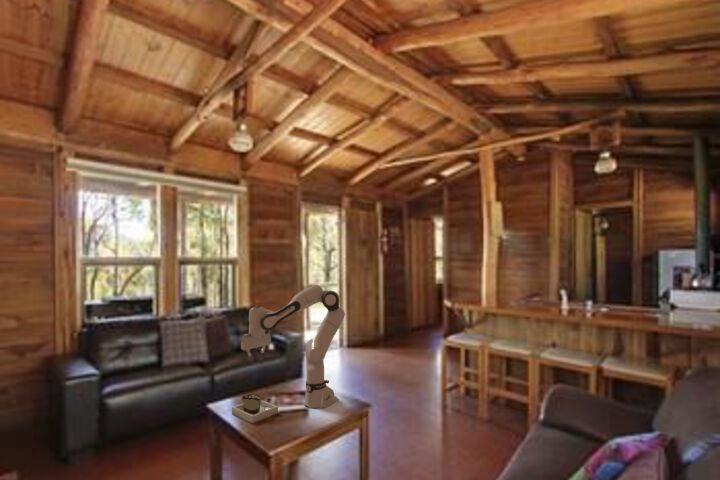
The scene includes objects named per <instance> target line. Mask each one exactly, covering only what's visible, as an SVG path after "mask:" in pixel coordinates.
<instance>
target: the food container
mask: <svg viewBox="0 0 720 480" xmlns="http://www.w3.org/2000/svg"><path fill="white" fill-rule="evenodd" d="M241 400H242V404H243V410H244V412H247V413H249V414H253V415H255V414H257V413H259V412H260V402H261V401H262V395H260V394H259V393H247V394H244V395H242V396H241Z"/></svg>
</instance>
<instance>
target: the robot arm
mask: <svg viewBox="0 0 720 480" xmlns="http://www.w3.org/2000/svg"><path fill="white" fill-rule="evenodd" d="M317 303H320V304H321V303H322V305H323V306H324V308H325V309H326V310H327V313H326V315H325V316H324V317H323V320H322V322H321V323H320V325H319V326H318V328H317V330H316V332H315V335H314V337H313V338H311V339H309V340H307V342H306V345H305V365H306V368H305V369H306V381H305V395H304V396H305V397H304V400H305V401H304V402H305V404H306V405H307V406H308V407H307V408H309V409H318V408H319V409H320V408H321V409H322V408H325V409H326V408H328V407H329V406H331V405H333V404H334V403H335V402H337V401H339V398H338V397H337V396H336V395H335V392H334V390H333V389H332V388H331V387H329V385H327V384H330V380H328V379H325V362H324V359H325V358H326V354H327V352H328V350H329V348H330V346H331V344H332V341H333V339H334V337H335V335H336V334H337V332H338V330H339V328H340V327H341V325H342V323H343V321H344V318H345V315H346V312H345V310H344V309H343V308H341V307H340V296H339V294H338V293H337V292H336V291H334V290H324V289H323V288H322V287H321V286H320V285H318V284H314V285H311V286H309V287H306V288H305V289H303V290H301V291H300V292H298V293H297V294H296V295H294V296H293V297H292V299H291V300H290V302H289V303H288V304H287V305H285V306H284V307H282V308H280V309H279V310H276V311H274V310H270V309H267V308H265V307H263V305H256V306H253V307H251V308H250V309H249V312H248V322H249V325H248V333H247V334H243V336H242V337H241V343H240V349H241V350H242V351H246V353H247V356H248V357H252V355H253V354H252V352H251V350H252V349H257V348H260V347H262V348H261V349H260V353H261V354H265V350H266V347H267V346H269V345H270V344H271V343H272V339H271V331H273V330H275V328H276V327H277V326H278V325H279V324H280V322H282V321H283V320H285V319H287V318H288V317H289V316H292V315H293V314H296V313H298V312H300V311H304V310H306V309H308V308H310V307H312V306H313V305H316V304H317Z"/></svg>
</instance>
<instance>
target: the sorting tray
mask: <svg viewBox="0 0 720 480" xmlns="http://www.w3.org/2000/svg"><path fill="white" fill-rule="evenodd" d="M264 406H268V407H269V408H270V409H268V410H264ZM277 414H279V406H278V405H275V404H272V403H270V402H267V401H265V400H262V401H261V402H260V412H259V413H257V414H255V415H253V414H249V413H247V412H244V410H243V403H240V404H238V405H235V406H232V407H231V415H233V416H236V417H237V418H240V419H241V420H244V421H245V420H246V422H248V423H250V424H255V423H258V422H259V421H260V422H261V421H262V420H265V419H267V418H270V417H273V416H275V415H277Z"/></svg>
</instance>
